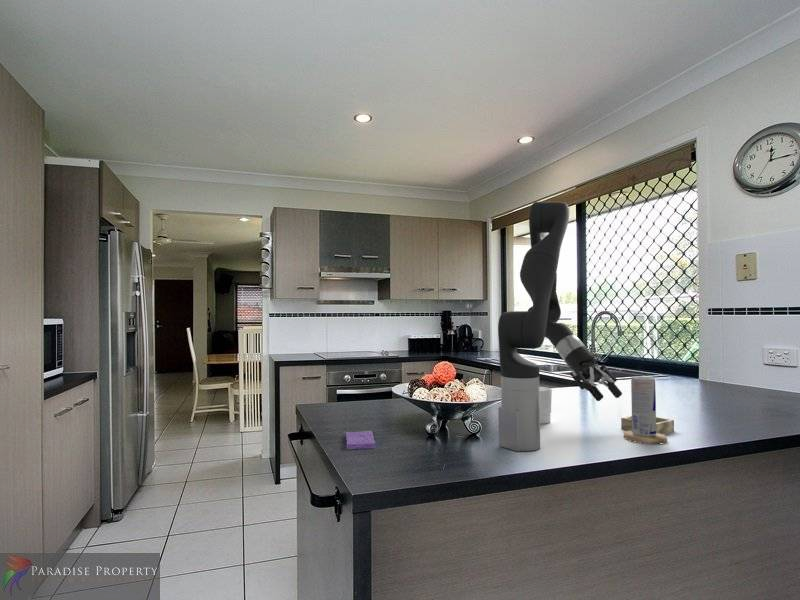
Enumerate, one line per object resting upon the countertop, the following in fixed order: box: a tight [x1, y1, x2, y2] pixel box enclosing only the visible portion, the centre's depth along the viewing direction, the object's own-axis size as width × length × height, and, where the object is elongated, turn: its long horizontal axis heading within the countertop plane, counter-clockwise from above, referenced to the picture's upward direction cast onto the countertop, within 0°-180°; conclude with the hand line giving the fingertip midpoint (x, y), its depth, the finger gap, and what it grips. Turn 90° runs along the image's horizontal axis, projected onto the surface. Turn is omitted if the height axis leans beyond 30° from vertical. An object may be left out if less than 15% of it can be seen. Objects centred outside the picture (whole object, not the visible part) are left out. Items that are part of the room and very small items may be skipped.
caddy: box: [620, 415, 675, 435], centre depth 131 cm, size 10×10×3 cm
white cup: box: [539, 386, 553, 425], centre depth 143 cm, size 8×8×10 cm
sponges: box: [345, 430, 376, 450], centre depth 120 cm, size 7×13×2 cm, turn 8°
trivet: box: [623, 430, 668, 445], centre depth 122 cm, size 10×10×1 cm
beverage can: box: [630, 375, 657, 437], centre depth 122 cm, size 6×6×15 cm
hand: (610, 397), depth 130 cm, fingers open, 8 cm apart
